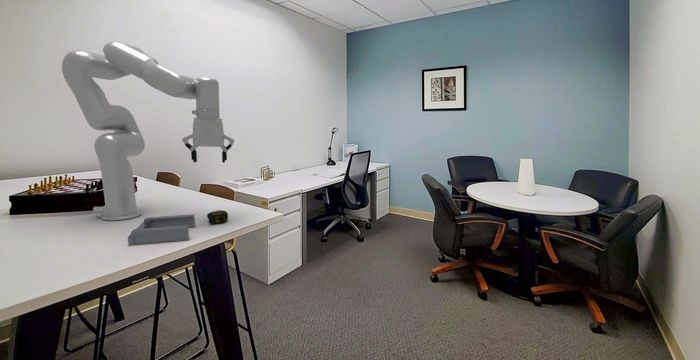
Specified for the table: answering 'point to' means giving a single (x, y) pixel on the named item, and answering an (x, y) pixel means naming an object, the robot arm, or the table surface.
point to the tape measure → (217, 216)
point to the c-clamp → (162, 229)
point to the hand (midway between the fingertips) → (209, 162)
